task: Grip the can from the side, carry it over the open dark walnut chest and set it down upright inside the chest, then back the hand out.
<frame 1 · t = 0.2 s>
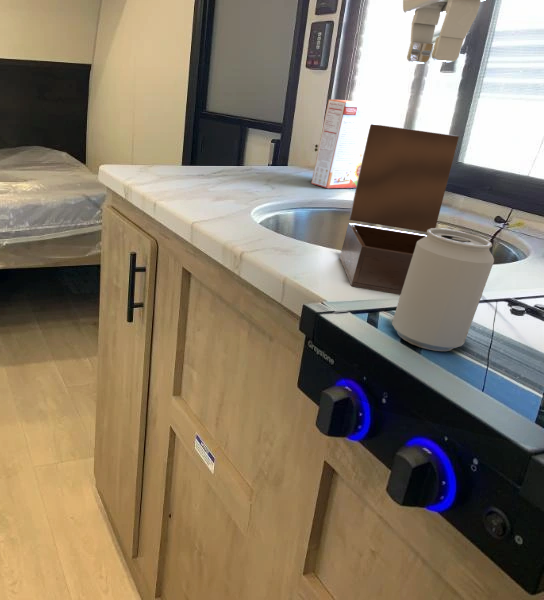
hand: (428, 62, 55), 28 cm above the countertop, tool pointing down, fingers open, 8 cm apart
chest: (388, 278, 85), on the countertop
can: (424, 340, 66), on the countertop
cracker box: (336, 186, 154), on the countertop
lid: (398, 179, 90), point 13 cm above the countertop, hinge at 100.0°
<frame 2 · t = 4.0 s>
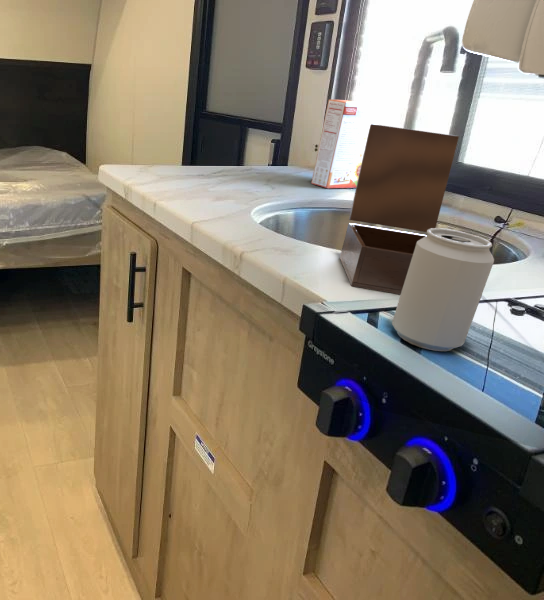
nothing on the countertop moved.
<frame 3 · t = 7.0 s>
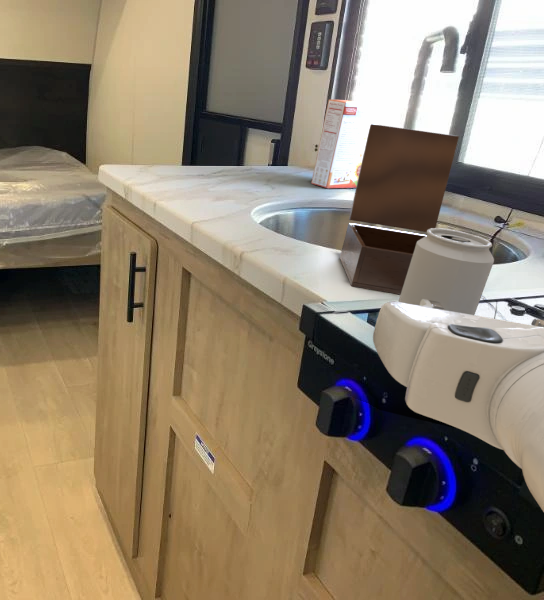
hand: (482, 317, 53), 7 cm above the countertop, tool horizontal, fingers open, 8 cm apart
nothing on the countertop moved.
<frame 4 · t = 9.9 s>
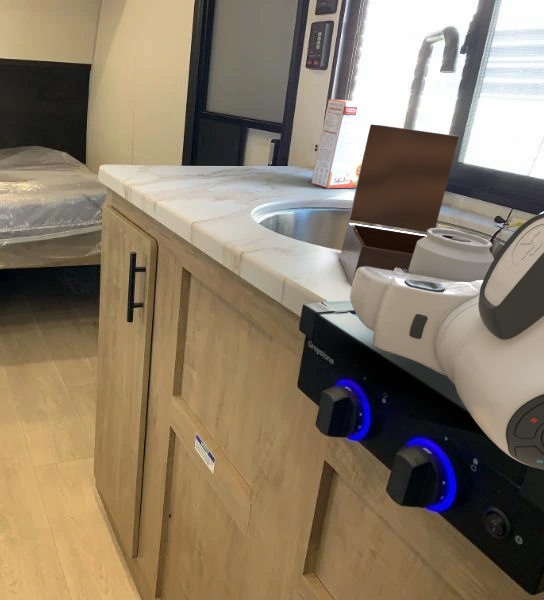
hand: (440, 282, 64), 6 cm above the countertop, tool horizontal, fingers closed on can, 7 cm apart
can: (424, 340, 66), on the countertop, touching gripper
everything else where it was.
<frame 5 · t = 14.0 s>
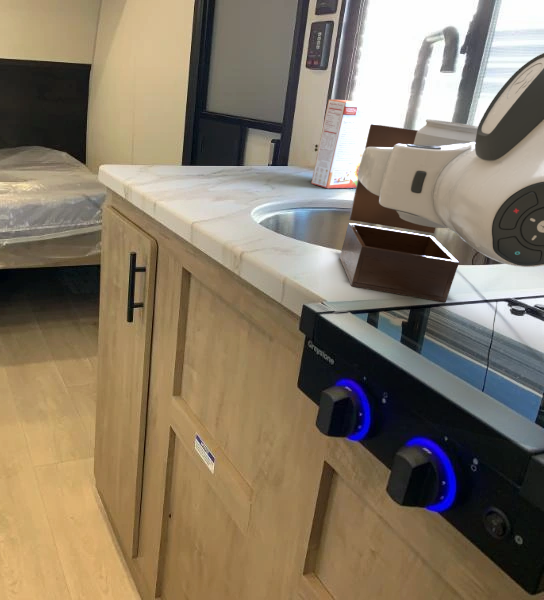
hand: (437, 168, 73), 17 cm above the countertop, tool horizontal, fingers closed on can, 7 cm apart
can: (423, 223, 74), point 10 cm above the countertop, touching gripper
everything else where it was.
when the fingers open (7 cm above the countertop, at t = 18.5 s): can stays where it is, resting on chest.
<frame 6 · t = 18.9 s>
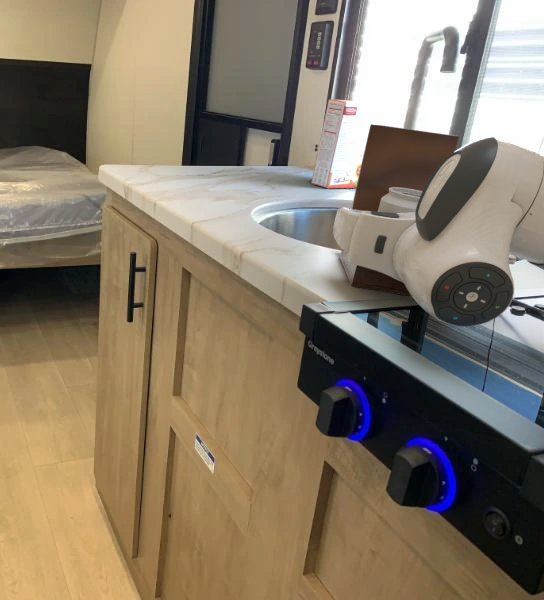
hand: (403, 222, 83), 8 cm above the countertop, tool horizontal, fingers open, 8 cm apart
can: (388, 275, 85), resting on chest
everything else where it was.
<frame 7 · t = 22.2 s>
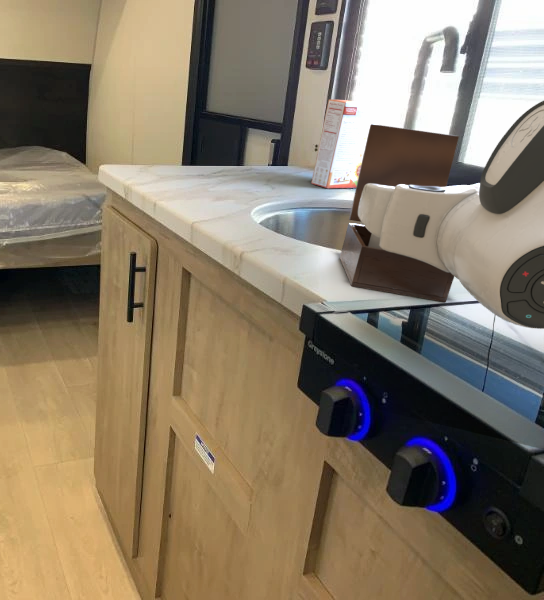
hand: (442, 202, 69), 14 cm above the countertop, tool horizontal, fingers open, 8 cm apart
nothing on the countertop moved.
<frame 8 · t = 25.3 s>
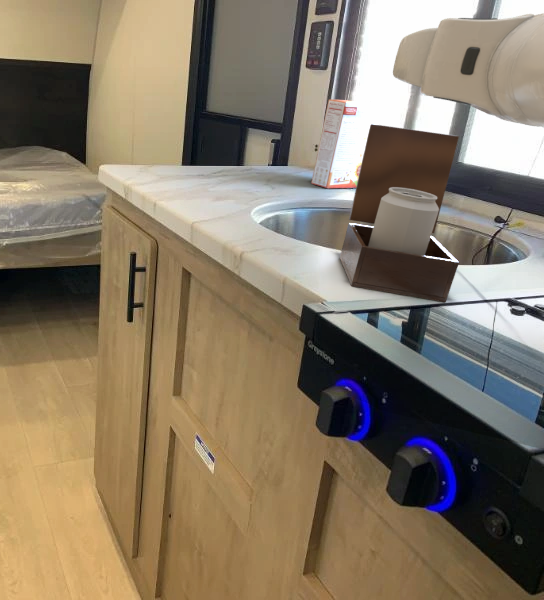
hand: (482, 70, 64), 28 cm above the countertop, tool horizontal, fingers open, 8 cm apart
nothing on the countertop moved.
at the end: can 0.1 cm off-centre in the chest, point 0.4 cm above the chest's base; can tilted 0°; lid at +100° (first picture: +100°) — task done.
